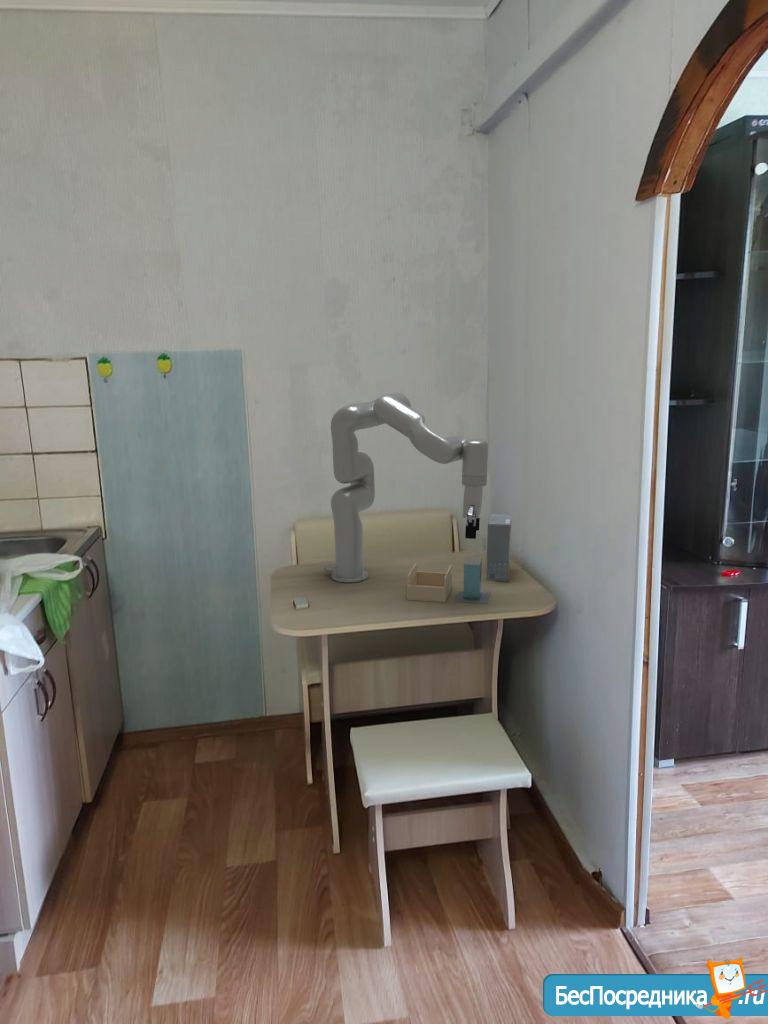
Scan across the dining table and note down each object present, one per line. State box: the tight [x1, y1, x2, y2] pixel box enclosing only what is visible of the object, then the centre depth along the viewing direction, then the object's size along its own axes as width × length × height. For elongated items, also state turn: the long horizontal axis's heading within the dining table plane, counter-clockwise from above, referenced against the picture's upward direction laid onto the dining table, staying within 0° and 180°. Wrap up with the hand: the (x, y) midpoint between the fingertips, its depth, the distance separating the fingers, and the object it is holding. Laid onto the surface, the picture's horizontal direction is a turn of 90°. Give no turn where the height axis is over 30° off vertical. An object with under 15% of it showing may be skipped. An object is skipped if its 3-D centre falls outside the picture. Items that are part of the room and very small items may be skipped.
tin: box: [463, 556, 483, 600], centre depth 236 cm, size 5×5×12 cm
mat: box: [454, 590, 491, 605], centre depth 238 cm, size 10×10×1 cm
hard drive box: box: [485, 513, 513, 582], centre depth 259 cm, size 16×8×20 cm, turn 168°
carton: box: [406, 562, 453, 603], centre depth 242 cm, size 12×15×8 cm
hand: (472, 534), depth 233 cm, fingers open, 9 cm apart
